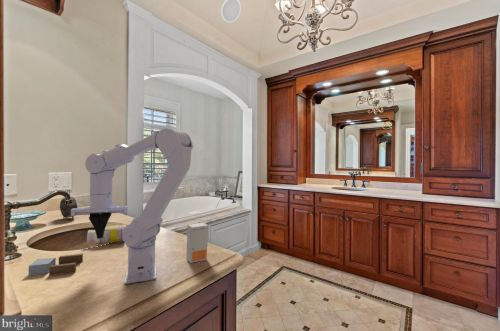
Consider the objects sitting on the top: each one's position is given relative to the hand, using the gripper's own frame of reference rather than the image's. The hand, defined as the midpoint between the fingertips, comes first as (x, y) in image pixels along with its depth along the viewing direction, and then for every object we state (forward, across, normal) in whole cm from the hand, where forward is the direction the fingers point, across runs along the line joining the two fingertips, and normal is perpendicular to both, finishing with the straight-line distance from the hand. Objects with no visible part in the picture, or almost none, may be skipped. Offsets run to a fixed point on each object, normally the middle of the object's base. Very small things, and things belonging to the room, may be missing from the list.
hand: (100, 237), depth 70 cm
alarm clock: (+10, +28, -71) cm, 77 cm away
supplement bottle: (+6, -5, -24) cm, 25 cm away
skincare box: (+10, -29, +4) cm, 31 cm away
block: (+10, +15, -3) cm, 18 cm away
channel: (+9, +9, -3) cm, 13 cm away
